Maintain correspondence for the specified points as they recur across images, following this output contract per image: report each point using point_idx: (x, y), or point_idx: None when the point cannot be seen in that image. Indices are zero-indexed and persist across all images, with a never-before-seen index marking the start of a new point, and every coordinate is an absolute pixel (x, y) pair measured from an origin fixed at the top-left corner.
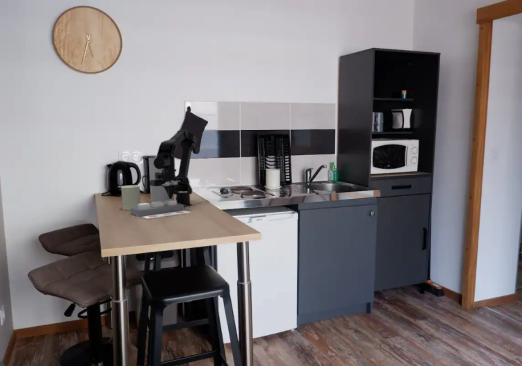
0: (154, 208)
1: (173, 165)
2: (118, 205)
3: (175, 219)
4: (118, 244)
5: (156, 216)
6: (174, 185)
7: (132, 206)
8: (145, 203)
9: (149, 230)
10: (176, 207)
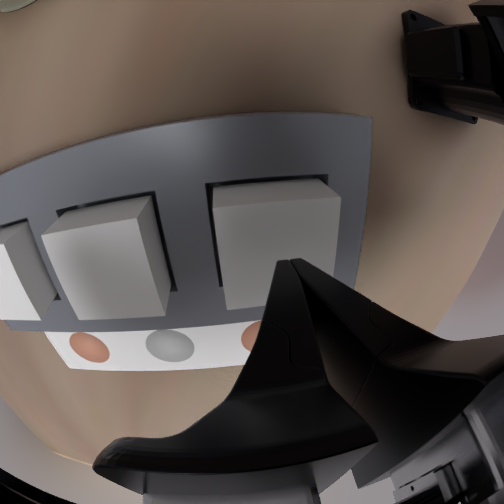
0: (85, 329)
1: None
2: None
3: (183, 415)
4: (62, 451)
5: (106, 359)
6: (362, 483)
7: (4, 2)
8: (3, 273)
9: (97, 442)
10: None
